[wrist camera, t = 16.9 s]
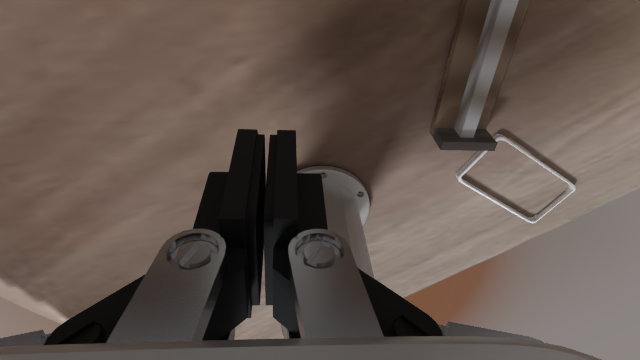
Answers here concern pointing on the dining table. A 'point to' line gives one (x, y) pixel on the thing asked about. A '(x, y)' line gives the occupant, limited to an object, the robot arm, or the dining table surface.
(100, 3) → the dining table surface
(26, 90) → the dining table surface
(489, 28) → the rail base
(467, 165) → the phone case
